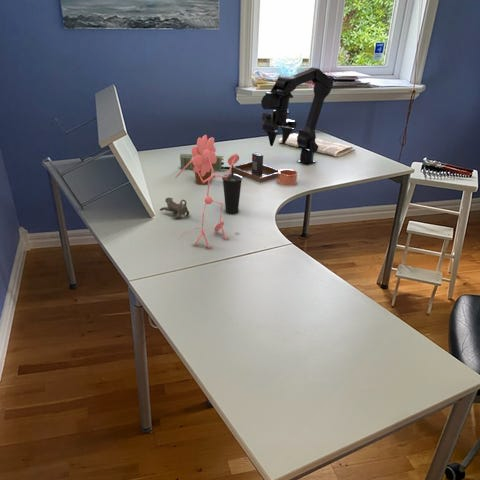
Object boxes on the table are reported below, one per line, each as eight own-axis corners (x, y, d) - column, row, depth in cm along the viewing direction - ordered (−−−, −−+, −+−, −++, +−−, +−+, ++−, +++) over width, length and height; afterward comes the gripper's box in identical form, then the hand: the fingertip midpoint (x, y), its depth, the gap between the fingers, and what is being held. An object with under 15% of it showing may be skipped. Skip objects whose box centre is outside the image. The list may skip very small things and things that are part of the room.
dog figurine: (192, 217, 187) (191, 198, 182) (181, 221, 183) (181, 203, 179) (169, 209, 192) (168, 190, 188) (159, 213, 189) (157, 195, 184)
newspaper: (277, 143, 270) (278, 138, 269) (297, 136, 283) (298, 131, 281) (335, 157, 252) (336, 152, 250) (354, 149, 264) (354, 144, 262)
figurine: (242, 232, 177) (246, 131, 157) (194, 257, 160) (191, 149, 140) (210, 220, 184) (209, 123, 164) (161, 243, 168) (153, 138, 147)
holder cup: (286, 178, 224) (287, 168, 221) (299, 183, 219) (301, 172, 216) (274, 182, 219) (274, 171, 217) (287, 187, 215) (288, 176, 212)
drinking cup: (221, 208, 194) (221, 157, 183) (240, 207, 195) (241, 157, 183) (222, 215, 188) (222, 164, 177) (242, 215, 189) (243, 163, 177)
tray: (253, 166, 237) (253, 161, 236) (282, 177, 226) (282, 171, 224) (231, 172, 229) (231, 166, 228) (260, 183, 218) (260, 178, 216)
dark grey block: (255, 171, 229) (256, 152, 224) (262, 174, 226) (263, 155, 221) (250, 173, 228) (251, 153, 223) (257, 175, 225) (258, 156, 220)
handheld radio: (181, 166, 234) (233, 169, 232) (180, 169, 232) (232, 172, 230) (181, 153, 230) (233, 155, 228) (179, 155, 227) (233, 158, 226)
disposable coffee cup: (197, 187, 213) (196, 159, 206) (189, 180, 220) (188, 153, 213) (217, 183, 216) (217, 156, 209) (208, 177, 223) (208, 150, 216)
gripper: (279, 104, 228) (275, 138, 237) (254, 106, 216) (251, 143, 224) (299, 108, 223) (294, 143, 231) (274, 111, 210) (270, 148, 219)
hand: (277, 144), depth 226 cm, fingers open, 9 cm apart
